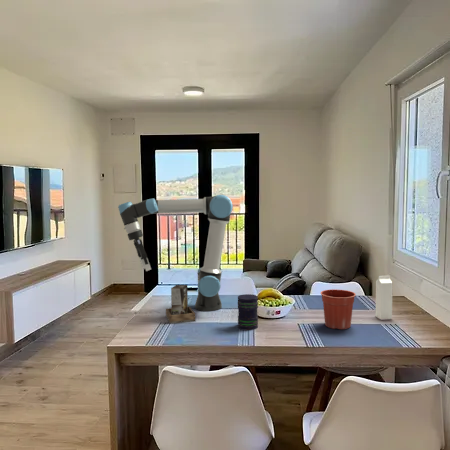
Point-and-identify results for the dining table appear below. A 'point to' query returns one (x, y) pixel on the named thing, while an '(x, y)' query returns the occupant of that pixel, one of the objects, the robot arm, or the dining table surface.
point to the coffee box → (179, 300)
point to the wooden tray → (180, 316)
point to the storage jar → (247, 312)
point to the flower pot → (338, 308)
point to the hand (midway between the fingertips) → (147, 269)
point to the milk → (384, 298)
